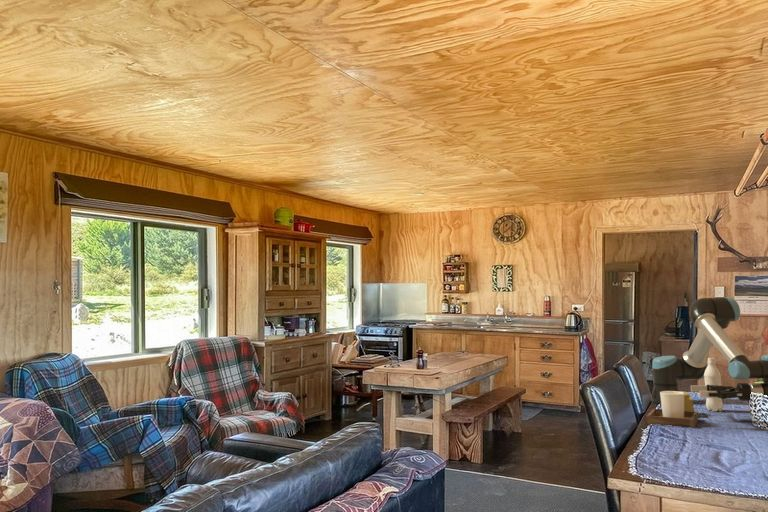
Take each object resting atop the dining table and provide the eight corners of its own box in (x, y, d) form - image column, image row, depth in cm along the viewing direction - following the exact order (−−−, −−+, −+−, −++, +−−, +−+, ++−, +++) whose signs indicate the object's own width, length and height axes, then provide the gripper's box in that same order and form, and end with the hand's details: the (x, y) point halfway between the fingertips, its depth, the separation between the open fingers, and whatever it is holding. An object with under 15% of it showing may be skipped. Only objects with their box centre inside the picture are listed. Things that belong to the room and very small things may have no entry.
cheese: (695, 416, 270) (693, 394, 270) (671, 417, 270) (670, 395, 271) (684, 412, 280) (682, 391, 281) (661, 412, 280) (660, 391, 281)
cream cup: (689, 422, 253) (687, 394, 254) (665, 422, 255) (663, 394, 256) (681, 417, 263) (680, 390, 264) (658, 417, 265) (656, 390, 265)
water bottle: (702, 410, 283) (699, 358, 284) (712, 408, 286) (709, 356, 287) (716, 412, 276) (713, 359, 278) (726, 411, 279) (723, 358, 281)
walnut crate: (653, 416, 273) (653, 408, 273) (698, 419, 263) (697, 411, 263) (646, 424, 257) (646, 416, 258) (693, 428, 247) (693, 419, 248)
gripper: (761, 406, 241) (704, 405, 246) (739, 395, 265) (688, 394, 270) (759, 388, 242) (703, 387, 246) (738, 378, 266) (687, 378, 271)
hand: (695, 391), depth 258 cm, fingers open, 13 cm apart
